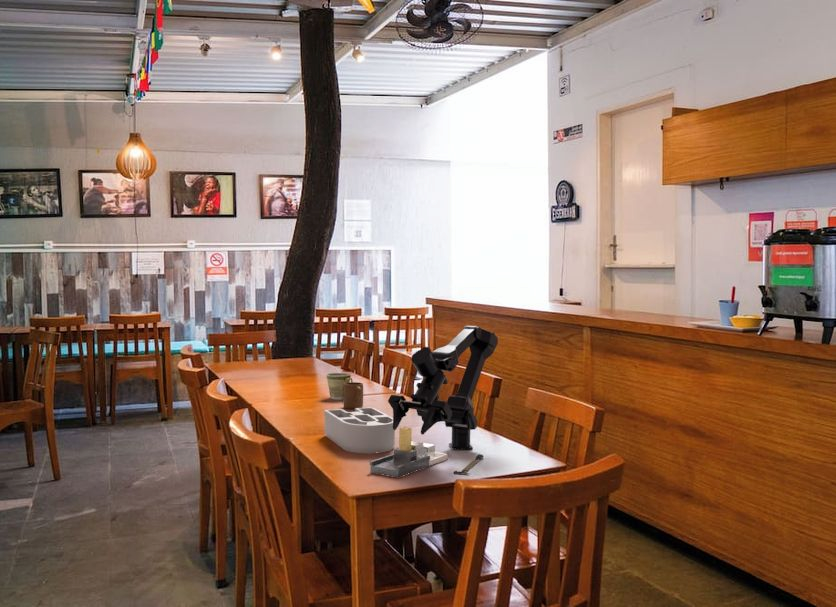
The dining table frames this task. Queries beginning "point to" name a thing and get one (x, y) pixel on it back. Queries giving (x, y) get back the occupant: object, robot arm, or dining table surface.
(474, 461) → the tactical tomahawk
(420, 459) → the slot deck
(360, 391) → the mug
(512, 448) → the dining table surface
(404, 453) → the yellow peg on base
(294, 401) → the dining table surface
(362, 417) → the grey compartment organizer
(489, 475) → the dining table surface
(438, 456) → the tray
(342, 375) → the ceramic cup
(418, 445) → the pale grey cube
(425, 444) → the speckled white cube
